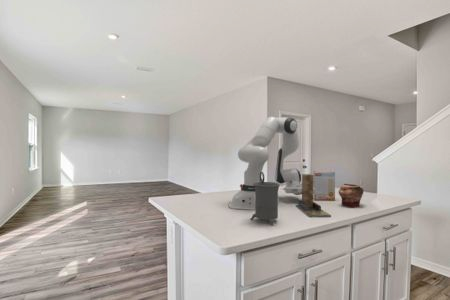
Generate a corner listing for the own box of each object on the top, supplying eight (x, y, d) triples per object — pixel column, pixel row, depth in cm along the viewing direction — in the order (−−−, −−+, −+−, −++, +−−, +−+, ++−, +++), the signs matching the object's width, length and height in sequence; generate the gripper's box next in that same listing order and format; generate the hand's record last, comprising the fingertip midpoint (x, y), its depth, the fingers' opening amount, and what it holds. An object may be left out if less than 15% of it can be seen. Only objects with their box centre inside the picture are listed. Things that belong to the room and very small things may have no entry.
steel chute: (309, 217, 135) (309, 209, 135) (295, 206, 160) (295, 200, 160) (331, 217, 136) (331, 209, 136) (313, 206, 161) (313, 200, 161)
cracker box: (332, 199, 183) (332, 171, 183) (335, 201, 177) (335, 171, 177) (312, 198, 185) (313, 170, 184) (315, 200, 179) (315, 171, 178)
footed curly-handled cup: (286, 225, 121) (287, 174, 121) (258, 227, 118) (258, 175, 118) (272, 215, 140) (272, 170, 139) (247, 216, 137) (247, 171, 137)
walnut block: (305, 207, 152) (305, 175, 152) (301, 205, 158) (302, 174, 158) (313, 207, 153) (313, 175, 152) (309, 205, 159) (309, 174, 158)
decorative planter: (353, 202, 173) (353, 182, 173) (370, 206, 162) (370, 184, 162) (333, 205, 164) (333, 184, 164) (349, 209, 153) (350, 187, 153)
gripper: (282, 184, 176) (287, 187, 162) (310, 184, 177) (318, 187, 163) (282, 192, 176) (287, 196, 162) (310, 193, 177) (318, 196, 163)
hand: (303, 192), depth 163 cm, fingers closed
